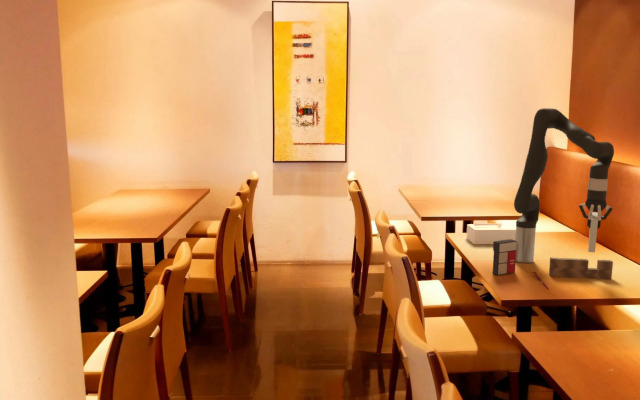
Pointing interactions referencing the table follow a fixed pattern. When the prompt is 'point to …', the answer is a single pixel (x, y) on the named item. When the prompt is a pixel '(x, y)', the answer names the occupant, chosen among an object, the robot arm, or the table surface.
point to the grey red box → (504, 256)
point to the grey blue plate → (593, 232)
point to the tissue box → (490, 232)
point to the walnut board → (580, 268)
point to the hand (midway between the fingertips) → (593, 228)
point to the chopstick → (539, 279)
